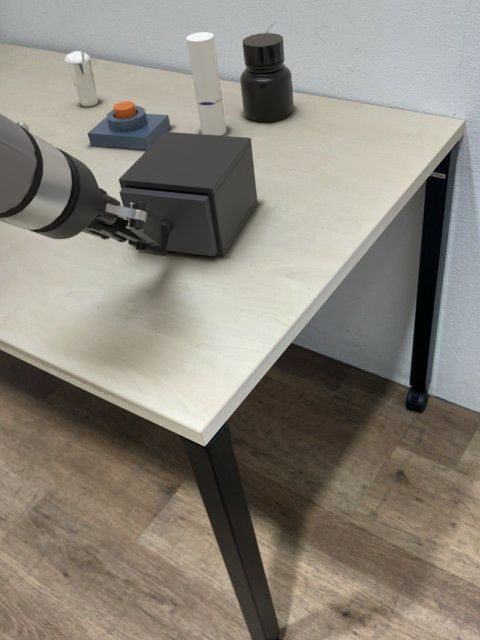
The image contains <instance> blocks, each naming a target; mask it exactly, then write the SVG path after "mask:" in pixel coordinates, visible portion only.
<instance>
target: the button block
mask: <svg viewBox="0 0 480 640" xmlns="http://www.w3.org/2000/svg"><path fill="white" fill-rule="evenodd" d="M135 108H136V112H137V114H136V115H135V116H133V117H130V118H125V119H118V118H116V117H115V113H114V109H111V110H110V111H109V112H108V113H106V116H105V118H103V119H102V120H101V121H99V123H97V124H96V125H95V126H94V127H92V128H91V130H89V131H88V132H87V136H88V140H89V144H90V146H91V147H102V148H113V149H114V148H115V149H127V150H137V151H138V150H139V151H147V150H148V149H149V148H150V147H151V146H152V145H153V144H154V143H155V142H156V141H157V139H158V138H159V137H160V136H161V135H162V134H163V133H164V132H169V130H170V129H171V121H170V117H169V114H161V113H160V114H159V113H147V112H146V110H145V108H144V107H142V106H139V105H135Z"/></svg>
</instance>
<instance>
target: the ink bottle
mask: <svg viewBox="0 0 480 640" xmlns="http://www.w3.org/2000/svg"><path fill="white" fill-rule="evenodd" d="M284 45H285V44H284V36H283V35H281V34H278V33H274V32H263V33H255V34H251V35H248V36H246V37H245V38H244V39H242V51H243V62H244V65H245V69H244V70H243V71H242V72H241V74H240V76H239V77H240V79H239V81H240V91H241V99H242V107H243V108H242V110H243V114H244V116H245V117H246V118H247V119H249V120H253V121H256V122H257V121H258V122H274V121H275V122H276V121H279V120H282V119H284V118H286V117H288V116H290V114H291V113H292V112H293V110H294V93H293V92H294V91H293V78H292V76H293V75H292V71H291V69H290V68H289V67H288V66H286V65H285V46H284Z"/></svg>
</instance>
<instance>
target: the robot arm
mask: <svg viewBox="0 0 480 640" xmlns="http://www.w3.org/2000/svg"><path fill="white" fill-rule="evenodd" d="M0 222H2V223H5V224H8V225H11V226H14V227H16V228H19V229H22V230H27V231H29V232H32V233H36V234H38V235H41V236H44V237H46V238H49V239H53V240H66V239H70V238H73V237H76V236H77V235H79V234H81V233H86V234H88V235H91V236H94V237H97V238H100V239H101V240H110V238H111V239H112V240H115V241H117V242H118V243H127V244H128V245H130V246H132V247H135V250H137V251H140V252H147V253H149V254H151V255H154V256H158V257H159V256H160V257H166V256H167V255H166V254H167V250H166V249H167V243H168V237H169V234H167V233H165V232H163V231H161V227H162V222H161V221H160V220H159V219H158V218H156V217H155V216H154V215H153V214H152V213H151V212H150V211H149V210H148V204H146V203H145V202H142V201H138V202H135V204H134V203H129V208H127V207H123V205H121V201H119V200H118V199H117V198H115V197H112V196H110V195H109V194H108V191H106V190H105V189H103V188H101V187H100V186H99V184H98V182H97V179H96V177H95V175H94V173H93V171H92V170H91V169H90V168H89V166H87V165H86V164H85V163H84V162H83V161H81V160H79V159H78V158H76V157H74V156H73V155H71V154H69V152H66V151H64V150H63V149H61V148H59V147H56V146H54V145H53V144H52V143H50V142H48V141H46V140H45V139H43V138H41V137H39V136H38V135H37V134H34V133H32V132H31V131H30V128H29V125H28V124H27V123H26V122H21V121H19V122H15V121H13V120H11V119H10V118H8V116H7V117H6V116H5V115H3V114H2V113H0ZM127 241H128V242H127Z"/></svg>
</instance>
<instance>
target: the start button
mask: <svg viewBox="0 0 480 640" xmlns="http://www.w3.org/2000/svg"><path fill="white" fill-rule="evenodd" d="M135 106H136V105H135V103H134V102H133V101H131V100H127V101H125V100H124V101H120V102H117V103H115V104H113V106H112V110H114V113H115V117H116V118H118V119H125V118H130V117H133V116H135V115H136V114H137V112H136V108H135Z"/></svg>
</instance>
